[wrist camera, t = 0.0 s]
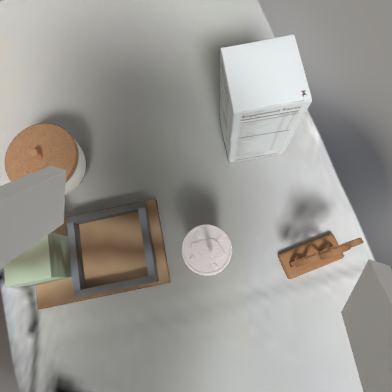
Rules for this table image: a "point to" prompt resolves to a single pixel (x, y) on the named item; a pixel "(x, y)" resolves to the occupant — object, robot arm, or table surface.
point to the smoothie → (206, 250)
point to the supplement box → (261, 97)
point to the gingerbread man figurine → (314, 255)
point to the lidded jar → (45, 154)
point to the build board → (94, 256)
